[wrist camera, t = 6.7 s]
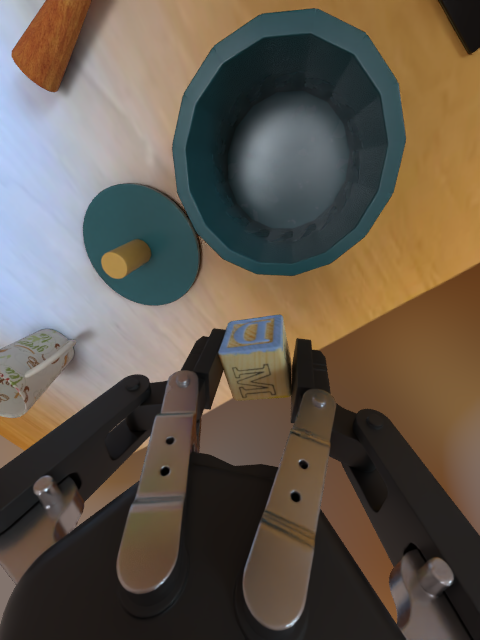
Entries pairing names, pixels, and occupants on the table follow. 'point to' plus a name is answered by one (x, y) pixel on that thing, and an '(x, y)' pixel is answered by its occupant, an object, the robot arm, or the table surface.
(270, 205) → the container
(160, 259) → the teal pot lid
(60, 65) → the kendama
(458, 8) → the black stand
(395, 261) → the table surface
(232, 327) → the alphabet block
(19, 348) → the mug
